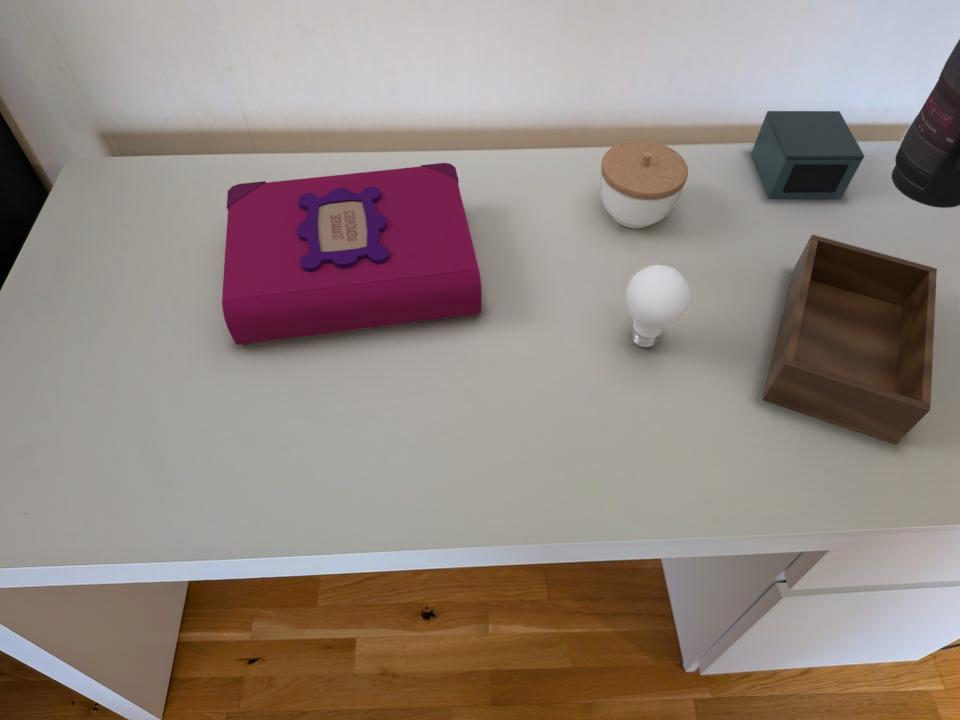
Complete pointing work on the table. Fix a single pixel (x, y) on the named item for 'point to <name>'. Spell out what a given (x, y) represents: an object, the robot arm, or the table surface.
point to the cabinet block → (806, 155)
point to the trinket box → (641, 182)
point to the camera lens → (931, 137)
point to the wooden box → (856, 340)
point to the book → (347, 253)
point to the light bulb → (655, 302)
